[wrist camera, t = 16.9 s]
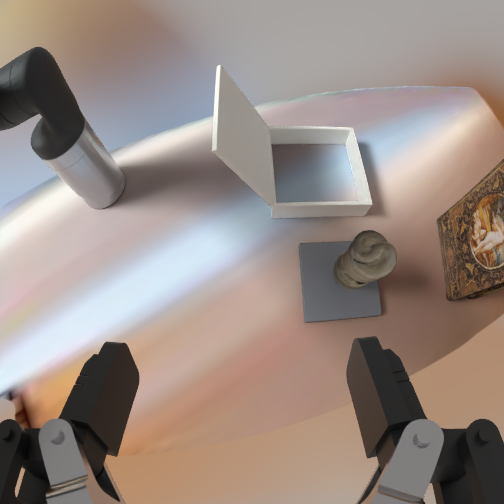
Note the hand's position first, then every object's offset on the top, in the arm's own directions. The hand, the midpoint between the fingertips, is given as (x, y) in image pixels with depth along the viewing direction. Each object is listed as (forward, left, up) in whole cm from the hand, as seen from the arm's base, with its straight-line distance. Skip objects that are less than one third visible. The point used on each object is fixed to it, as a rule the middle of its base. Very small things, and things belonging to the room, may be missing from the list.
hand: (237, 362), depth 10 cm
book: (+28, +27, -35) cm, 52 cm away
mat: (+8, +14, -35) cm, 38 cm away
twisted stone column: (+8, +14, -33) cm, 37 cm away
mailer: (-5, +29, -35) cm, 46 cm away
